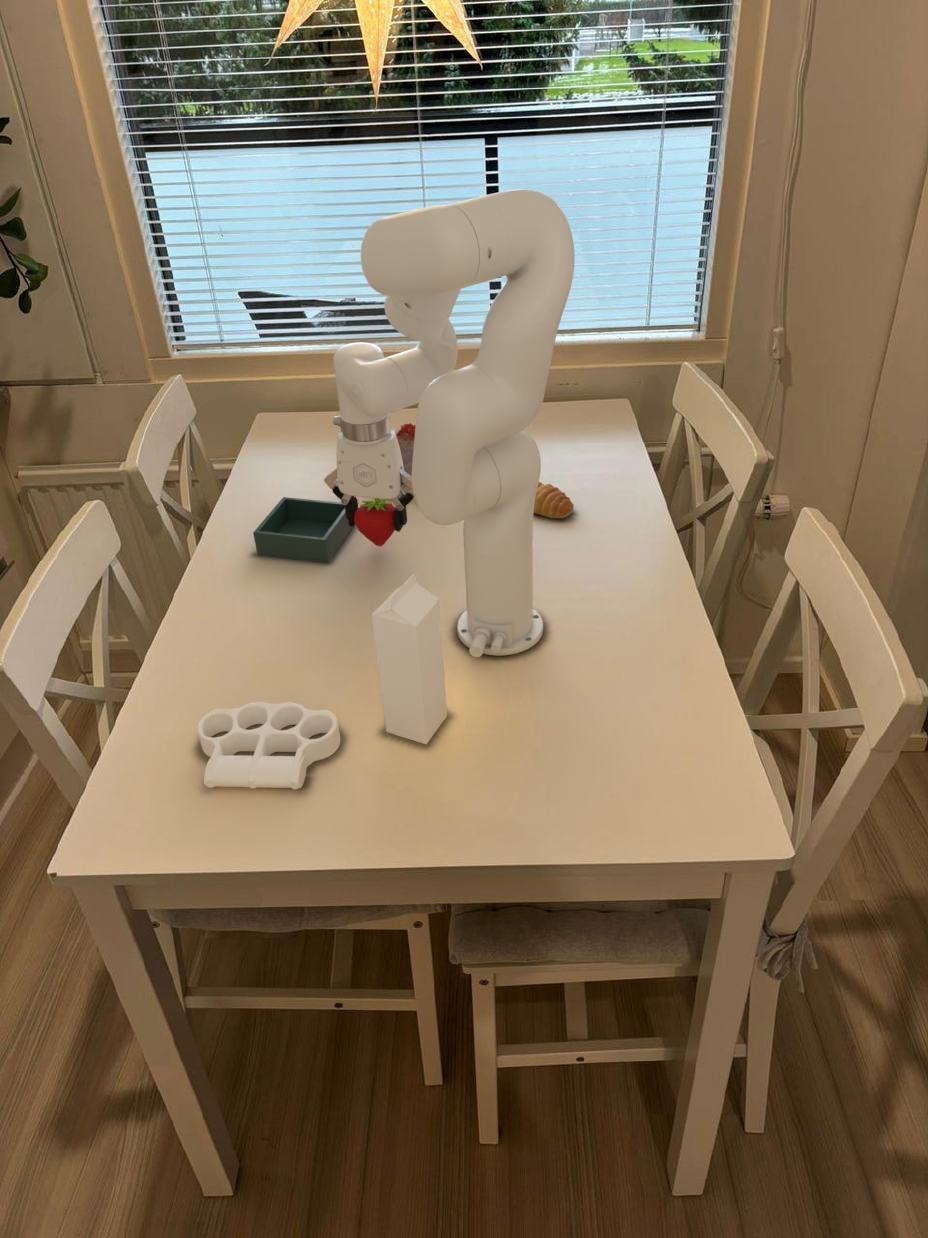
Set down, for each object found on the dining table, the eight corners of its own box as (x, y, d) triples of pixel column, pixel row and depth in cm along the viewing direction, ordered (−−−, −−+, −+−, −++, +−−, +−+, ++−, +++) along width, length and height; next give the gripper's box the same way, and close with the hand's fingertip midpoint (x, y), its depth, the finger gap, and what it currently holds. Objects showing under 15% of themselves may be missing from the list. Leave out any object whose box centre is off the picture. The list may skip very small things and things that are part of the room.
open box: (328, 562, 153) (325, 540, 151) (257, 554, 156) (252, 532, 154) (354, 525, 163) (351, 503, 160) (287, 518, 166) (283, 496, 163)
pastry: (582, 510, 164) (583, 491, 161) (557, 525, 160) (557, 506, 158) (542, 494, 169) (542, 475, 167) (517, 508, 165) (516, 489, 163)
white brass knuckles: (181, 793, 113) (215, 712, 125) (327, 796, 111) (348, 714, 123) (175, 773, 111) (210, 693, 123) (323, 776, 109) (344, 694, 121)
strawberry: (357, 537, 158) (350, 485, 152) (401, 534, 158) (396, 482, 152) (357, 556, 153) (350, 503, 147) (402, 552, 154) (397, 499, 148)
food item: (449, 465, 180) (446, 417, 174) (443, 484, 174) (440, 436, 168) (380, 463, 182) (375, 416, 176) (372, 483, 175) (366, 435, 170)
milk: (386, 733, 120) (366, 593, 107) (408, 704, 124) (392, 566, 111) (427, 745, 118) (412, 604, 105) (449, 715, 122) (437, 576, 109)
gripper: (304, 432, 142) (319, 531, 153) (412, 440, 138) (420, 542, 149) (322, 411, 148) (336, 508, 158) (427, 419, 144) (434, 518, 154)
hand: (377, 524), depth 153 cm, fingers closed on strawberry, 7 cm apart
